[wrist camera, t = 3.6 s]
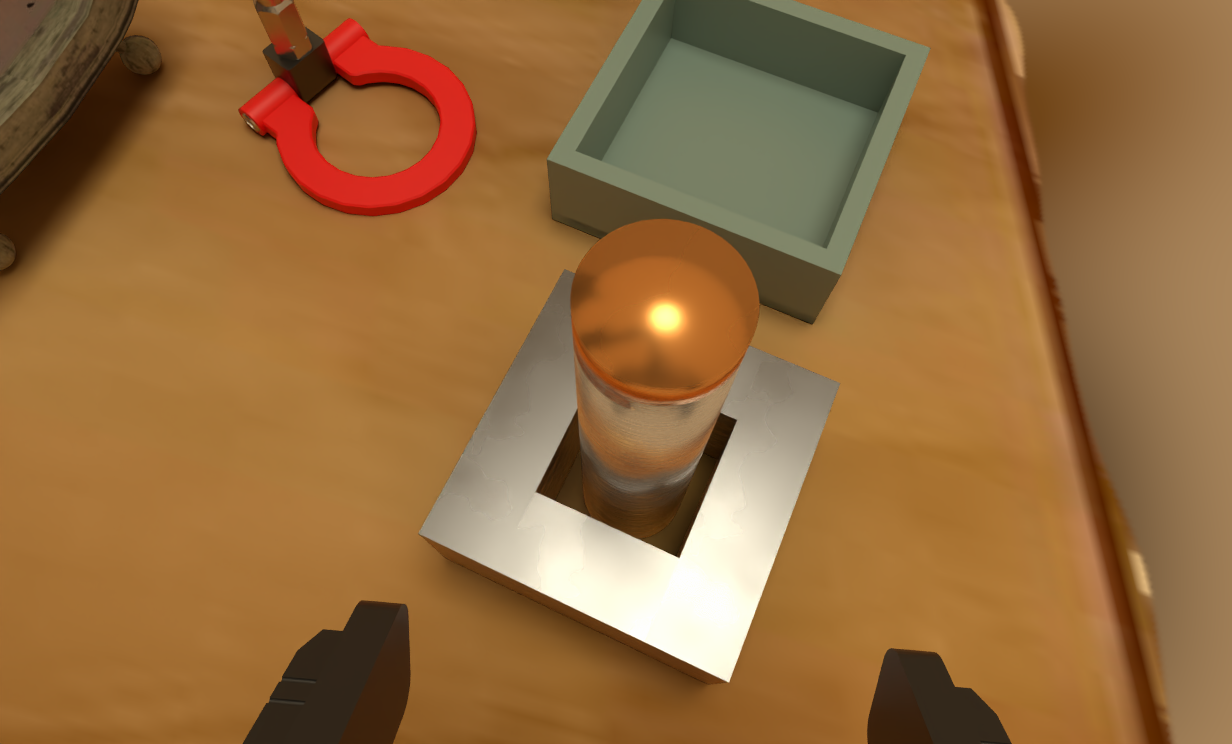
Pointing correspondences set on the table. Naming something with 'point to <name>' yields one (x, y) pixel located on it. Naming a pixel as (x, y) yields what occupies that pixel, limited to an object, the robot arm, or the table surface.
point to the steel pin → (654, 363)
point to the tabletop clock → (56, 72)
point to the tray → (740, 134)
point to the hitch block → (605, 557)
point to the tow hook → (351, 54)
